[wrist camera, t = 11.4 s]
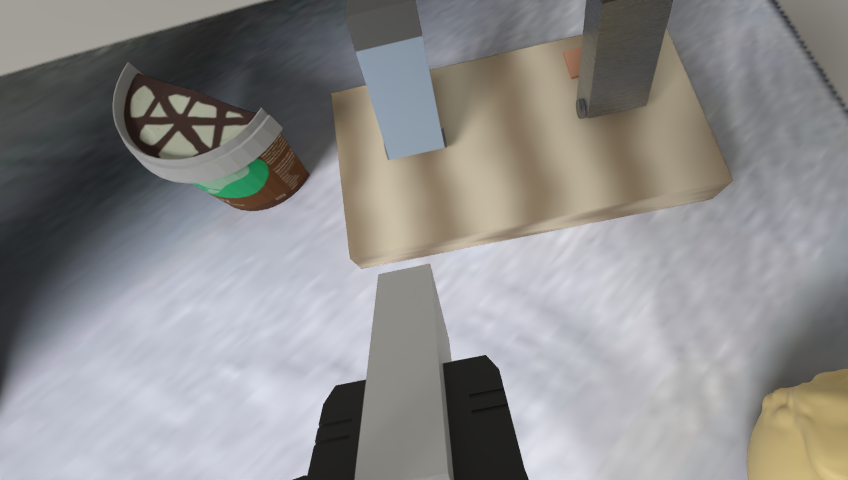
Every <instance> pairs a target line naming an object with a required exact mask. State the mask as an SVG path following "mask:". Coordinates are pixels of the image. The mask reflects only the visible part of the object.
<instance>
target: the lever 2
mask: <svg viewBox="0 0 848 480" xmlns="http://www.w3.org/2000/svg"><path fill="white" fill-rule="evenodd" d="M672 2H673V0H586V9H585V19H584V29H583V39H582V49H581V59H580V69H579V79H578V89H577V100H576V112H577V115H578V117H579V119H583V118H587V119H590V118H595V117H599V116H604V115H609V114H613V113H618V112H622V111H627V110H631V109H636V108H641V107H645V106H647V102H648V98H649V94H650V90H651V86H652V82H653V78H654V74H655V70H656V66H657V62H658V58H659V54H660V50H661V46H662V42H663V38H664V34H665V30H666V26H667V22H668V18H669V14H670V10H671V6H672Z"/></svg>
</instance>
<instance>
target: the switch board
mask: <svg viewBox="0 0 848 480" xmlns="http://www.w3.org/2000/svg"><path fill="white" fill-rule="evenodd" d="M582 39H583V35H579V36H575V37H570V38H566V39H562V40H557V41H553V42H549V43H545V44H540V45H536V46H532V47H527V48H523V49H519V50H515V51H510V52H506V53H502V54H497V55H493V56H489V57H485V58H480V59H476V60H472V61H467V62H463V63H459V64H455V65H450V66H446V67H442V68H437V69H433V70H429V71H430V77H431V82H432V87H433V92H434V97H435V102H436V107H437V112H438V117H439V122H440V127H441V128H444V133H445V138H446V143H447V148H442V149H438V150H433V151H429V152H424V153H419V154H415V155H410V156H406V157H401V158H397V159H392V160H388V159H387V156H386V152H385V148H384V141H383V137H382V134H381V131H380V128H379V125H378V121H377V118H376V115H375V112H374V109H373V105H372V102H371V99H370V96H369V93H368V90H367V86H366V85H364V86H360V87H356V88H352V89H347V90H343V91H339V92H334V93H331V98H332V106H333V115H334V124H335V133H336V141H337V150H338V159H339V167H340V176H341V185H342V193H343V202H344V211H345V219H346V228H347V237H348V246H349V254H350V259H351V260H352V261H353V262H355V263H356V264H357V265H358V266H359V267H360V268H361V269H364V268H369V267H374V266H379V265H384V264H389V263H394V262H399V261H404V260H409V259H414V258H419V257H424V256H429V255H434V254H439V253H444V252H449V251H454V250H458V249H463V248H468V247H473V246H478V245H483V244H488V243H493V242H498V241H503V240H508V239H513V238H518V237H523V236H528V235H533V234H538V233H543V232H548V231H553V230H558V229H563V228H568V227H573V226H578V225H583V224H588V223H593V222H598V221H603V220H608V219H613V218H618V217H623V216H628V215H633V214H638V213H643V212H648V211H653V210H658V209H663V208H668V207H673V206H678V205H683V204H688V203H693V202H698V201H703V200H708V199H713V198H714V197H715V196H716V195H717V194H718V193H719V192H721V191H722V190H723V189H724V188H725V187H726V186H728V185H729V184H730V183H731V182H732V181H733V179H732V177H731V174H730V172H729V170H728V167H727V165H726V163H725V161H724V158H723V156H722V154H721V151H720V149H719V147H718V145H717V142H716V140H715V138H714V135H713V133H712V131H711V128H710V126H709V124H708V122H707V119H706V117H705V115H704V112H703V110H702V108H701V105H700V103H699V101H698V99H697V96H696V94H695V92H694V89H693V87H692V85H691V83H690V80H689V78H688V76H687V73H686V71H685V69H684V66H683V64H682V62H681V60H680V57H679V55H678V53H677V50H676V48H675V46H674V43H673V41H672V39H671V37H670V34H669V32H668V30H667V27H666V30H665V34H664V38H663V42H662V46H661V50H660V54H659V58H658V62H657V66H656V70H655V74H654V78H653V82H652V86H651V90H650V94H649V98H648V102H647V106H645V107H641V108H636V109H631V110H627V111H622V112H618V113H613V114H609V115H604V116H599V117H595V118H590V119H587V118H583V119H579V117H578V115H577V112H576V100H577V89H578V79H579V69H580V59H581V49H582Z"/></svg>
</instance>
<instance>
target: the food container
mask: <svg viewBox="0 0 848 480" xmlns="http://www.w3.org/2000/svg"><path fill="white" fill-rule="evenodd" d="M112 106H113V117H114V121H115V125H116V128H117V130H118V132H119V134H120V136H121V138H122V140H123V142H124V144H125V145H126V146H127V148H128V149H129V150H130V151H131V153H132V154H133V155H134V156H135V157H136V158H137V159H138V160H139V161H140V162H141V164H142V165H143V166H145V167H146V168H147V169H148V170H149V171H151V172H152V173H154V174H156V175H157V176H159V177H161V178H164V179H167V180H170V181H173V182H181V183H191V184H193V185H195V186H197V187H198V188H200V189H202V190H204V191H205V192H207V193H209V194H211V195H213V196H214V197H216V198H218V199H220V200H222V201H223V202H225V203H227V204H229V205H231V206H233V207H234V208H237V209H241V210H246V211H259V210H264V209H268V208H271V207H274V206H276V205H278V204H280V203H282V202H284V201H285V200H287V199H288V198H290V197H291V196H292V195H293V194H295V193H296V192H297V191H298V190H299V189H300V187H301V186H302V185H303V184H304V183H305V181H306V179H307V178H308V176H309V173H308V172H307V170H306V169H305V168H304V166H303V165H302V163H301V162H300V160H299V159H298V158H297V156H296V155H295V153H294V152H293V150H292V149H291V148H290V146H289V145H288V143H287V142H286V140H285V139H284V138H283V136H282V135H281V133H280V132H281V131H282V129H283V128H282V127H281V126H280V125H279V124H278V123H277V122H276V121H275V120H274V119H273V118H272V117H271V116H270V115H268V114H267V113H266V112H265V111H264V110H263V109H262V108H260V110H259V111H258V113H253V112H249V111H245V110H243V109H240V108H237V107H234V106H232V105H229V104H227V103H224V102H221V101H219V100H216V99H214V98H212V97H209V96H207V95H204V94H202V93H200V92H197V91H194V90H191V89H187V88H183V87H179V86H176V85H172V84H169V83H166V82H163V81H160V80H157V79H155V78H152V77H149V76H146V75H143V74H142V73H141V72H140V71H138V70H137V69H136V68H135V67H134V66H132V65H131V64H130V63H129V62H128V63H127V64H126V66H125V67H124V69H123V71H122V73H121V75H120V77H119V79H118V81H117V84H116V88H115V91H114V96H113V105H112Z"/></svg>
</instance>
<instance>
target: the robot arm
mask: <svg viewBox="0 0 848 480" xmlns="http://www.w3.org/2000/svg"><path fill="white" fill-rule="evenodd" d="M315 443H316V445H315V446H314V449H313V453H312V458H311V462H310V467H309V471H308V476H302V477H299V478H296V479H293V480H529V479H528V477H527V474H526V472H525V469H524V465H523V461H522V457H521V453H520V449H519V445H518V442H517V438H516V434H515V430H514V426H513V422H512V418H511V414H510V410H509V407H508V402H507V399H506V395H505V391H504V387H503V383H502V379H501V375H500V371H499V369H498V368H497V367H496V365H495V364H494V363H493V362H492V361H491V360H490V359H489V358H488V357H487V356H486V355H483V356H478V357H473V358H468V359H463V360H457V361H452V360H451V352H450V344H449V338H448V334H447V330H446V326H445V322H444V318H443V314H442V310H441V306H440V302H439V298H438V294H437V290H436V286H435V282H434V278H433V274H432V270H431V265H430V264H426V265H421V266H417V267H412V268H407V269H402V270H397V271H393V272H388V273H383V274H379V275H378V283H377V292H376V300H375V309H374V317H373V326H372V334H371V343H370V351H369V360H368V368H367V377H366V380H362V381H357V382H351V383H346V384H341V385H336V386H335V387H334V389H333V390H332V392H331V393H330V395H329V396H328V398H327V399H326V401H325V403H324V404H323V408H322V412H321V417H320V421H319V428H318V430H317V435H316V440H315Z"/></svg>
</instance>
